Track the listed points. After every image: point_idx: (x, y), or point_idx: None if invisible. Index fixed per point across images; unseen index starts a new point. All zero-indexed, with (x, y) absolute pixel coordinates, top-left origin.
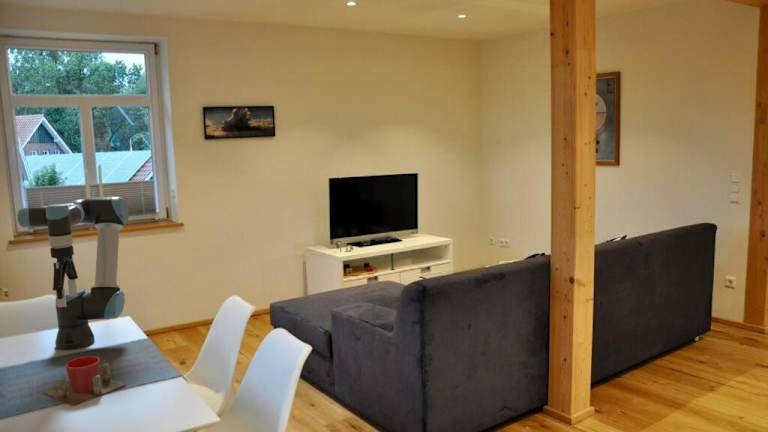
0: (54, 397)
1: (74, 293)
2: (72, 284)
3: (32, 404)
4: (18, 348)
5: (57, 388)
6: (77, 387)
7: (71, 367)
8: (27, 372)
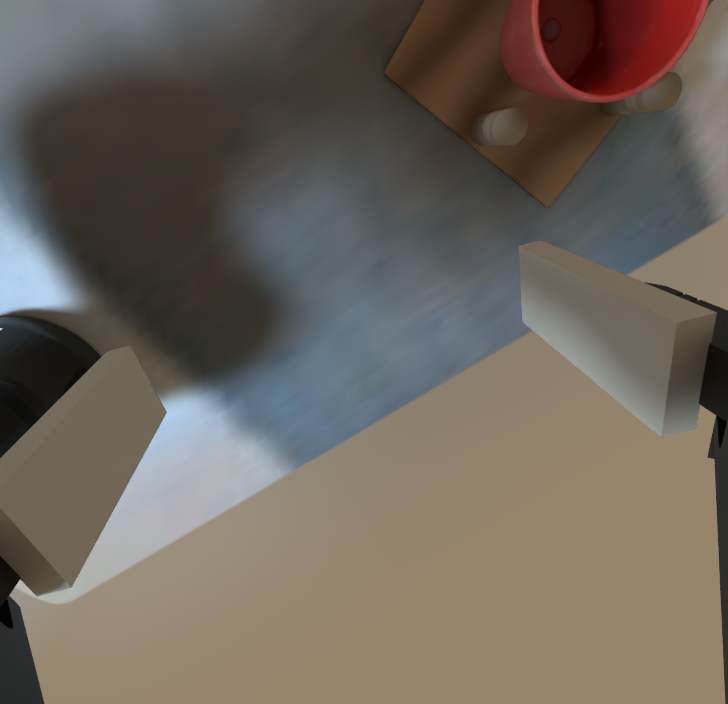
0: (599, 139)
1: (127, 382)
2: (74, 473)
3: (632, 196)
4: (135, 530)
5: (525, 173)
6: (611, 36)
7: (697, 25)
8: (342, 382)
